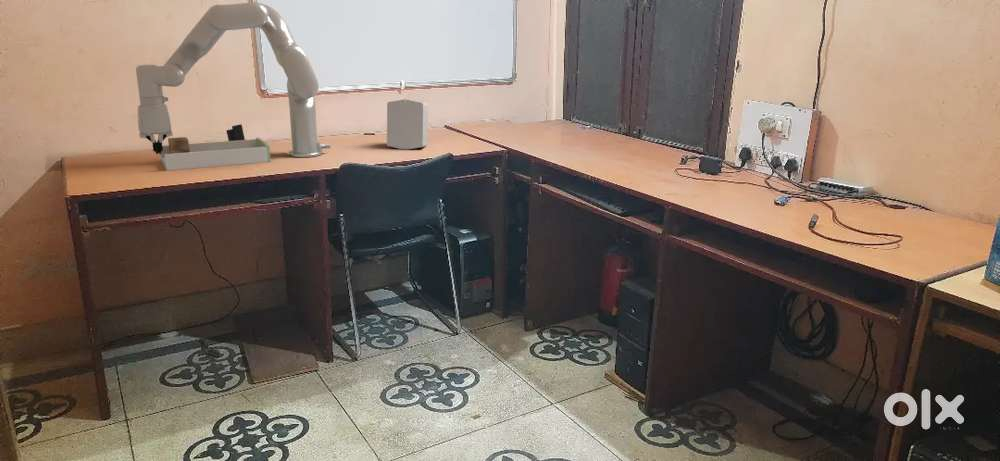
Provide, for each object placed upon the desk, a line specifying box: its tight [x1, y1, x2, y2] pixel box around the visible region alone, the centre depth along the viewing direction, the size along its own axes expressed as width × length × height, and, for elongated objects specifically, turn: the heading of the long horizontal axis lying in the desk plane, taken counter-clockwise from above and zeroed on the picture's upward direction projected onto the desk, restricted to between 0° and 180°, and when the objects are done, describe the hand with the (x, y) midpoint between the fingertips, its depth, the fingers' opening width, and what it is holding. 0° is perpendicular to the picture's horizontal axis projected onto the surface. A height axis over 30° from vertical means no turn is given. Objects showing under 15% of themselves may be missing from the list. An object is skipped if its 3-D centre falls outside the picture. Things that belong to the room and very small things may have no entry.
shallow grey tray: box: [159, 137, 271, 171], centre depth 262 cm, size 35×18×6 cm, turn 120°
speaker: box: [226, 124, 246, 141], centre depth 282 cm, size 8×6×10 cm
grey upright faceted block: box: [386, 98, 429, 150], centre depth 296 cm, size 15×15×20 cm
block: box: [167, 136, 190, 154], centre depth 259 cm, size 6×6×6 cm
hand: (158, 153), depth 256 cm, fingers closed
